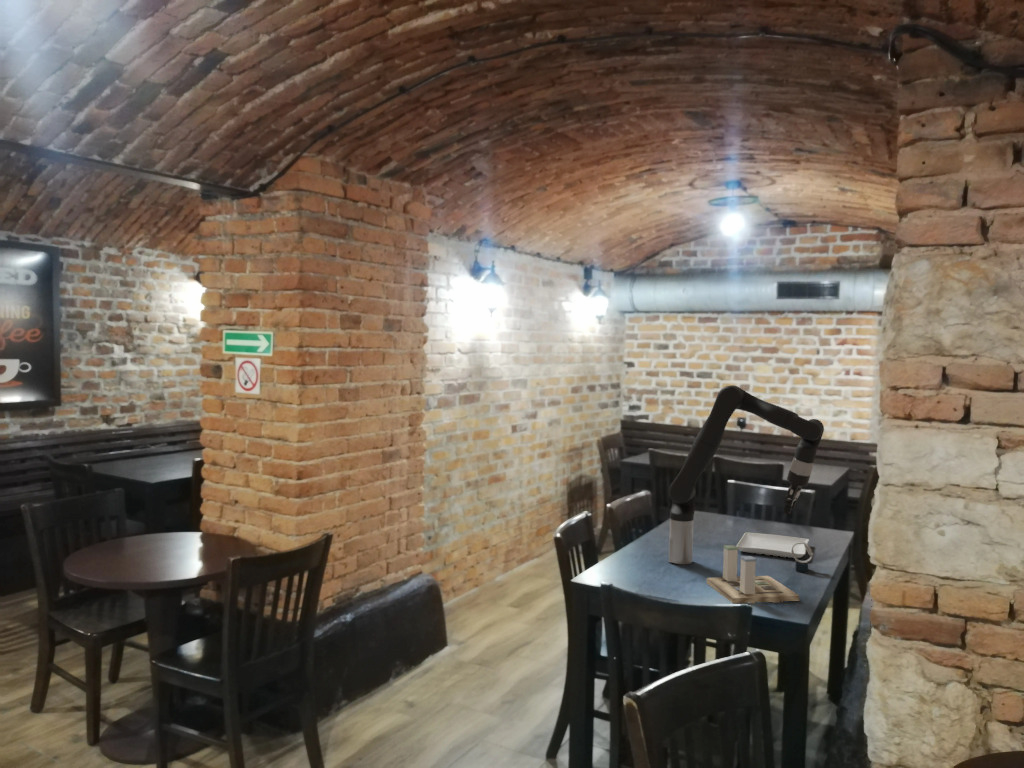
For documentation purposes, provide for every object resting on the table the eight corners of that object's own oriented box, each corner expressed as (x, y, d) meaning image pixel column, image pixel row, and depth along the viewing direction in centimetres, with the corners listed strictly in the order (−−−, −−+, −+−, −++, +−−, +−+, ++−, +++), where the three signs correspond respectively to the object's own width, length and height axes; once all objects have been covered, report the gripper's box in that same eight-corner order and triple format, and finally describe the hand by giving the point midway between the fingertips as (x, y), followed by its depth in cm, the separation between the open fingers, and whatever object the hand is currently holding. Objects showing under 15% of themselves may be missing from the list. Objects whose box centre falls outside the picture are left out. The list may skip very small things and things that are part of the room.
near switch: (744, 594, 259) (745, 559, 258) (739, 590, 263) (740, 556, 262) (755, 594, 259) (756, 559, 258) (749, 589, 263) (750, 555, 263)
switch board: (732, 604, 256) (732, 597, 256) (706, 583, 278) (706, 577, 278) (799, 601, 260) (799, 594, 260) (768, 581, 281) (768, 574, 281)
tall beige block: (727, 581, 272) (728, 548, 272) (722, 577, 277) (723, 545, 276) (737, 581, 273) (738, 548, 272) (732, 577, 277) (733, 544, 277)
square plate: (809, 546, 331) (809, 537, 331) (804, 563, 306) (805, 553, 306) (744, 539, 343) (745, 530, 342) (735, 554, 318) (735, 545, 318)
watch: (813, 573, 292) (814, 545, 291) (791, 571, 294) (792, 543, 294) (812, 569, 297) (813, 541, 296) (790, 567, 300) (791, 539, 299)
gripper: (794, 463, 291) (782, 502, 296) (785, 472, 279) (774, 512, 284) (814, 470, 288) (802, 509, 292) (806, 479, 276) (794, 519, 280)
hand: (788, 510), depth 288 cm, fingers open, 8 cm apart
